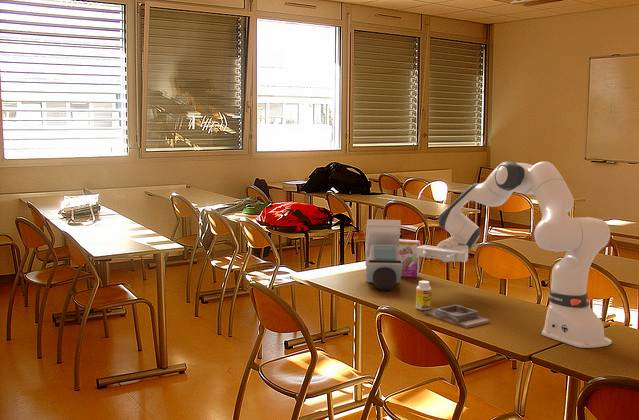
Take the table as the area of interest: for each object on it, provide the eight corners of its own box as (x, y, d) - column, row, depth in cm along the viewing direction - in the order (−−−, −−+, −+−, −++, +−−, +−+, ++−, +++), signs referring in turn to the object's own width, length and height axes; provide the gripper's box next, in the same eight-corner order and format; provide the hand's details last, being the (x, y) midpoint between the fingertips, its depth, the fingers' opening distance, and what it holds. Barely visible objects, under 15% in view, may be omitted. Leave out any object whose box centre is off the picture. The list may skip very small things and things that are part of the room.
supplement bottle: (422, 311, 251) (423, 284, 250) (412, 307, 255) (413, 281, 254) (433, 309, 254) (434, 282, 253) (423, 305, 259) (424, 279, 257)
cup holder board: (489, 322, 238) (490, 314, 238) (466, 328, 231) (466, 319, 231) (447, 309, 254) (447, 301, 254) (424, 314, 247) (424, 306, 247)
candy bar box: (392, 276, 306) (393, 240, 304) (394, 274, 311) (395, 238, 308) (417, 278, 303) (418, 242, 301) (418, 275, 308) (420, 240, 306)
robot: (400, 307, 287) (396, 251, 307) (404, 276, 271) (400, 220, 291) (365, 306, 287) (364, 251, 307) (368, 275, 271) (366, 219, 291)
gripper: (423, 240, 280) (410, 245, 268) (472, 245, 270) (461, 251, 258) (422, 255, 281) (410, 261, 269) (471, 261, 271) (460, 268, 259)
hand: (435, 256), depth 263 cm, fingers open, 8 cm apart
